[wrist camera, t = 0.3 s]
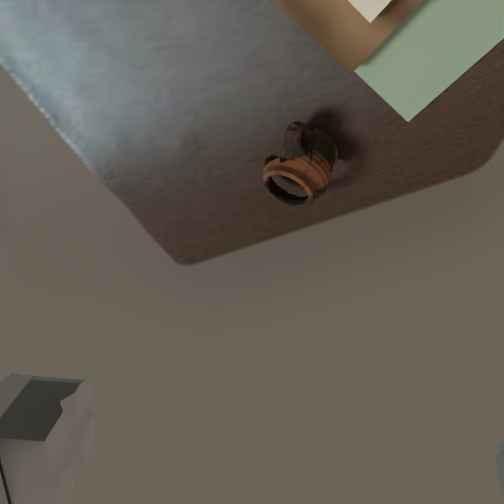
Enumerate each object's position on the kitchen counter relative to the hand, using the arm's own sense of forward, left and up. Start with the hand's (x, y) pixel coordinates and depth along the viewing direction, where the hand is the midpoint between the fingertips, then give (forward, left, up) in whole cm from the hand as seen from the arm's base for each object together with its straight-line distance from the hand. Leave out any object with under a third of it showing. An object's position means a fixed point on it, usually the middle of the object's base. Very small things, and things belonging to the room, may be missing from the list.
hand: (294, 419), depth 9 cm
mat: (-5, +18, -50) cm, 53 cm away
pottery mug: (+15, +16, -50) cm, 55 cm away
